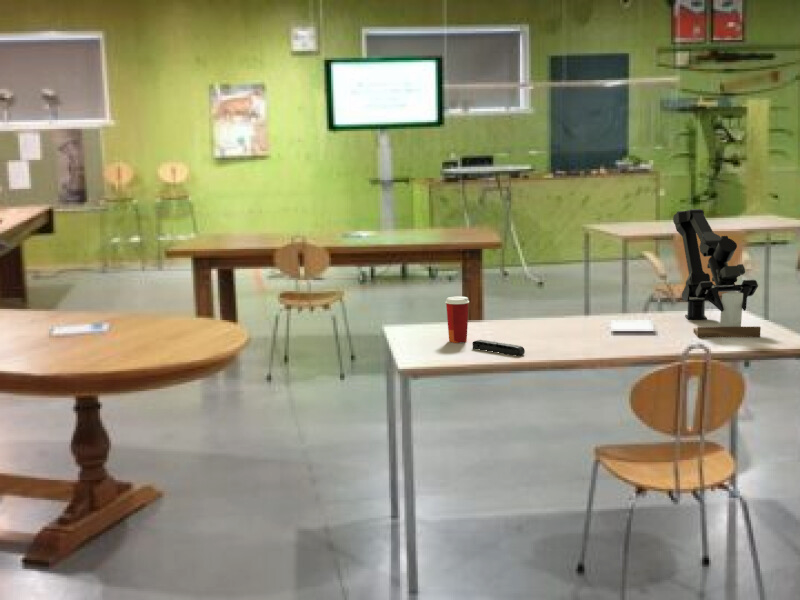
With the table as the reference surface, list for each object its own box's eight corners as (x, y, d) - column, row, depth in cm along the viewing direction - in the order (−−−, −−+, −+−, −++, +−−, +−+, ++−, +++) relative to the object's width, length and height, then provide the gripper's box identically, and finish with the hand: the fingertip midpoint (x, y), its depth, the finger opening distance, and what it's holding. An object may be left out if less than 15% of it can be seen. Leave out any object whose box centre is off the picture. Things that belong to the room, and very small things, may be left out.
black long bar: (524, 356, 298) (524, 346, 297) (519, 357, 296) (519, 347, 295) (477, 348, 309) (477, 339, 309) (472, 350, 308) (471, 340, 307)
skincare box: (728, 327, 323) (731, 291, 320) (741, 329, 319) (744, 293, 317) (718, 330, 319) (721, 293, 316) (730, 332, 316) (733, 295, 313)
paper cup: (473, 339, 321) (473, 296, 318) (463, 344, 314) (463, 300, 312) (451, 338, 324) (451, 295, 322) (441, 342, 318) (440, 299, 316)
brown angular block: (693, 332, 324) (693, 322, 323) (754, 332, 322) (754, 322, 321) (697, 337, 316) (698, 327, 315) (760, 337, 314) (760, 327, 313)
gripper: (699, 256, 318) (712, 296, 309) (756, 254, 319) (771, 294, 310) (690, 277, 327) (702, 317, 318) (745, 275, 328) (759, 314, 319)
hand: (733, 310), depth 316 cm, fingers closed on skincare box, 7 cm apart
